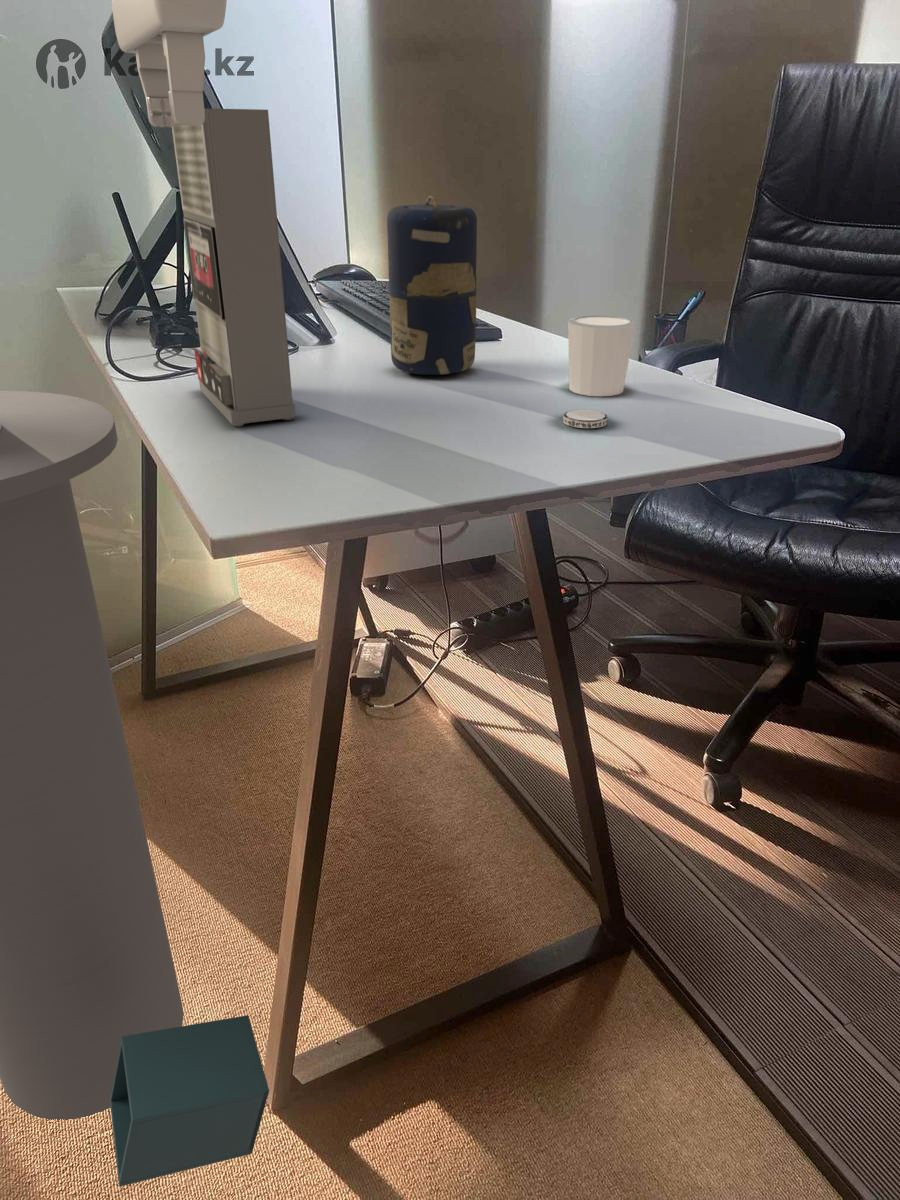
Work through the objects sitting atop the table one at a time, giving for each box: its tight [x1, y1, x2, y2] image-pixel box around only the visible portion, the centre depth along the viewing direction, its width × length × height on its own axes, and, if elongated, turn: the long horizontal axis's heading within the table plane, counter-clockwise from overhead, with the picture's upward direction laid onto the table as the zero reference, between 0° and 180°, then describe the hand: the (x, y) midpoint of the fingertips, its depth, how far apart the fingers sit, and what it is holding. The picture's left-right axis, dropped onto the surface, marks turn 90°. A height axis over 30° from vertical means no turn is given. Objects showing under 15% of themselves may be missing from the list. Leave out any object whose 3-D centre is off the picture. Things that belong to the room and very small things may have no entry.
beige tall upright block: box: [171, 107, 296, 427], centre depth 78 cm, size 14×6×25 cm, turn 26°
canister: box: [386, 195, 478, 376], centre depth 93 cm, size 10×10×18 cm
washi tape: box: [562, 409, 608, 429], centre depth 79 cm, size 4×4×1 cm
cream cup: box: [567, 315, 637, 397], centre depth 88 cm, size 7×7×7 cm
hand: (175, 126), depth 56 cm, fingers open, 8 cm apart
